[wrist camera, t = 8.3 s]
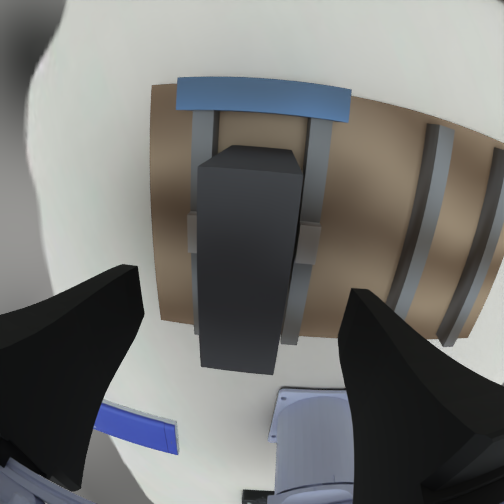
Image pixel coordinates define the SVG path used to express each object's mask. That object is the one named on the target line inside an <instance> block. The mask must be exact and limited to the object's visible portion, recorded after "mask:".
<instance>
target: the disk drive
mask: <svg viewBox="0 0 504 504" xmlns="http://www.w3.org/2000/svg"><path fill="white" fill-rule="evenodd" d="M274 492H275V491H259V490H243V495H242V504H267V498H268V496H269V495H274Z"/></svg>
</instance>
